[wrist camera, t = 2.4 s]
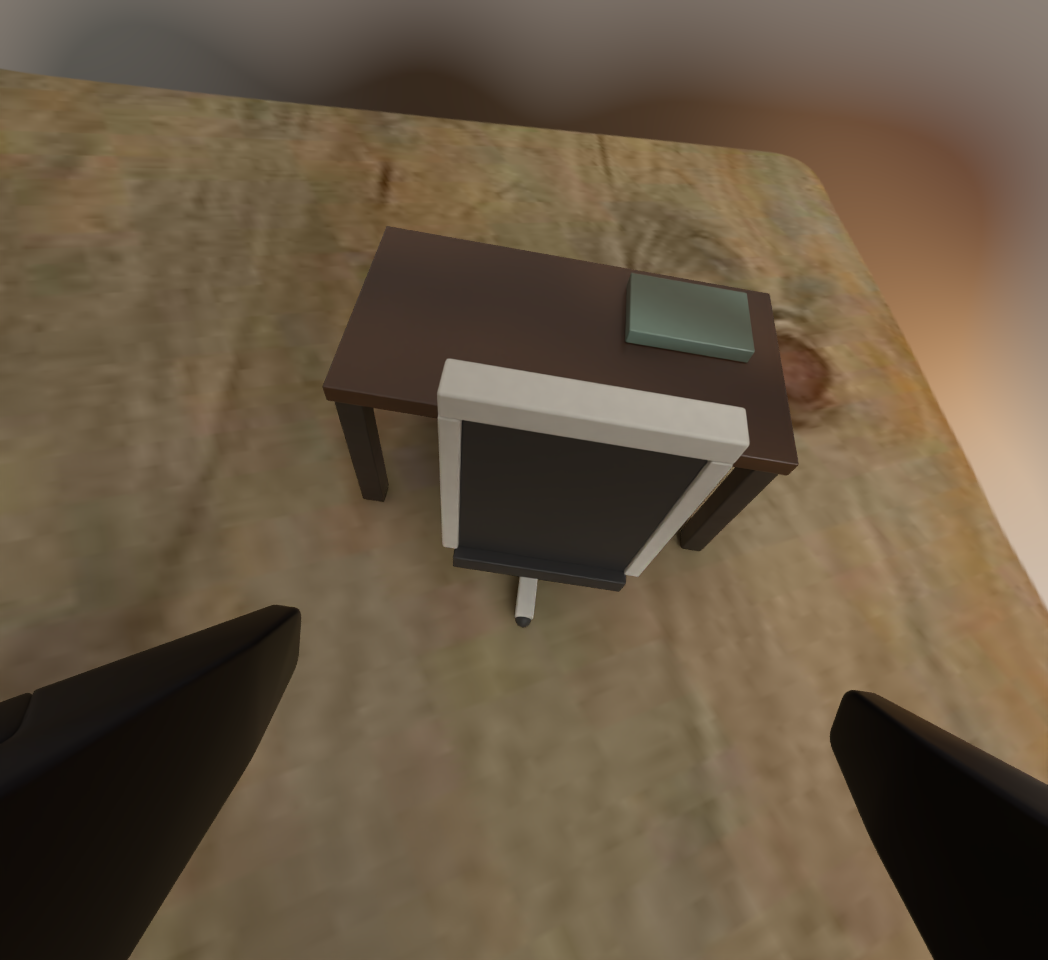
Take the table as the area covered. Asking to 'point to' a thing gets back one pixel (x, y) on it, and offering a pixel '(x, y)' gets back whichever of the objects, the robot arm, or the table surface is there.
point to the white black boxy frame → (571, 474)
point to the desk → (558, 347)
